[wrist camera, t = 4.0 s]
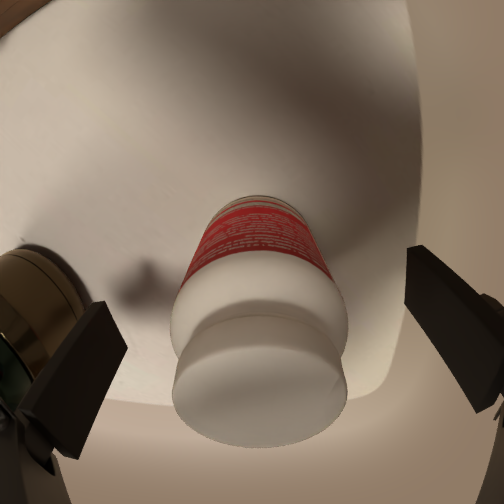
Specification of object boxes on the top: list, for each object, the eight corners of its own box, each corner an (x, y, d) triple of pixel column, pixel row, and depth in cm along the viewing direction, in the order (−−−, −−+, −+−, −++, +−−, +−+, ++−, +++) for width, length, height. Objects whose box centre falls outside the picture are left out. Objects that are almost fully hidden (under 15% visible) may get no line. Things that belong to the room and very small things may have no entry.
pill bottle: (183, 227, 17) (97, 367, 7) (280, 173, 15) (327, 266, 5) (238, 308, 19) (225, 471, 9) (327, 266, 18) (393, 420, 7)
